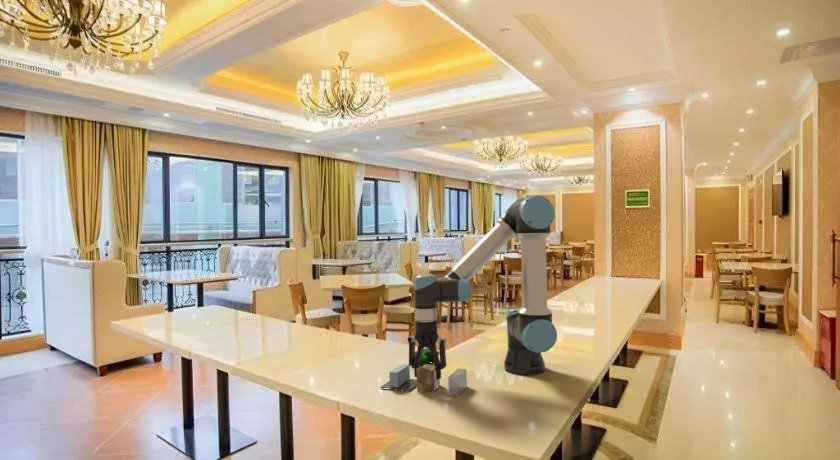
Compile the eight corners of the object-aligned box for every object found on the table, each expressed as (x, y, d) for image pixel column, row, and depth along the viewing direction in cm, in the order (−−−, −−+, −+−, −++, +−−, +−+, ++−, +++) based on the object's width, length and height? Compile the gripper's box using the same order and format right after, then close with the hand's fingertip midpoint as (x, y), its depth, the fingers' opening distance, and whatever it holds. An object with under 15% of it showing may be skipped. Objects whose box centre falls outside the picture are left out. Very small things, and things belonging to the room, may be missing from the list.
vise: (467, 386, 155) (466, 368, 155) (457, 397, 145) (456, 378, 145) (394, 379, 166) (393, 362, 166) (380, 388, 156) (379, 371, 156)
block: (439, 385, 157) (438, 365, 157) (431, 393, 150) (430, 371, 150) (426, 384, 159) (425, 364, 159) (417, 391, 152) (416, 370, 152)
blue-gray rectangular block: (410, 378, 163) (409, 364, 163) (397, 387, 154) (397, 372, 154) (402, 377, 164) (401, 364, 164) (389, 386, 155) (389, 372, 155)
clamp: (422, 378, 179) (419, 361, 175) (411, 372, 183) (408, 355, 179) (442, 361, 186) (439, 344, 182) (431, 355, 190) (428, 338, 186)
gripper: (455, 319, 155) (457, 387, 154) (406, 316, 162) (408, 381, 162) (447, 323, 148) (449, 394, 147) (397, 320, 155) (398, 388, 155)
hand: (427, 387), depth 155 cm, fingers open, 6 cm apart
